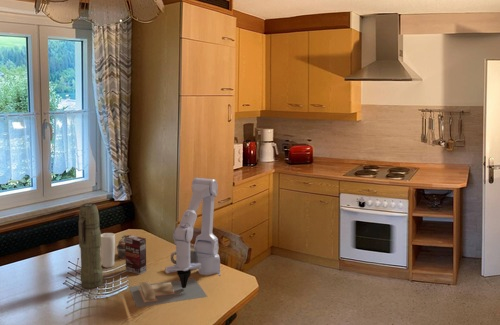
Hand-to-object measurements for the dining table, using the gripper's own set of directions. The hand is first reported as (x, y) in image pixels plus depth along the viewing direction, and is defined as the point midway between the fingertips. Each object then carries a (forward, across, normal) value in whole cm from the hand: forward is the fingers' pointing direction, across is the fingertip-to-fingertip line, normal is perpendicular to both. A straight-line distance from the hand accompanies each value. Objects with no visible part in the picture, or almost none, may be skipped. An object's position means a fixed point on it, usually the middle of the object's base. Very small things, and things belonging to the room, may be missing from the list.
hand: (183, 287), depth 209 cm
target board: (+2, -7, 0) cm, 7 cm away
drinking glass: (+2, -26, +40) cm, 48 cm away
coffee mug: (+2, +7, +25) cm, 26 cm away
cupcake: (+2, -16, +51) cm, 53 cm away
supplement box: (+2, -15, +29) cm, 33 cm away
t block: (+1, -11, 0) cm, 11 cm away
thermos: (+2, -35, +20) cm, 40 cm away
